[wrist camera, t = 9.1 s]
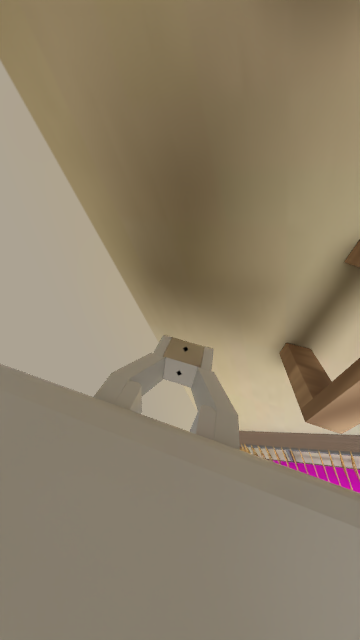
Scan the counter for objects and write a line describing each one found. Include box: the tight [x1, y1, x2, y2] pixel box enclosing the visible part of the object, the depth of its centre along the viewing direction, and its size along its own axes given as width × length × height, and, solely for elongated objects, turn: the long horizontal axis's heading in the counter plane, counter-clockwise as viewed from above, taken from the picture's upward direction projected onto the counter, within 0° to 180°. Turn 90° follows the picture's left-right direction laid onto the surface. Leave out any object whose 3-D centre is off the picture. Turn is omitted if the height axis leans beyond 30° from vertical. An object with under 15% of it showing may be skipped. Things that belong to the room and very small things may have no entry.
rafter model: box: [239, 431, 360, 493], centre depth 28 cm, size 35×14×6 cm, turn 119°
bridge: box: [279, 240, 360, 434], centre depth 14 cm, size 3×14×9 cm, turn 171°
